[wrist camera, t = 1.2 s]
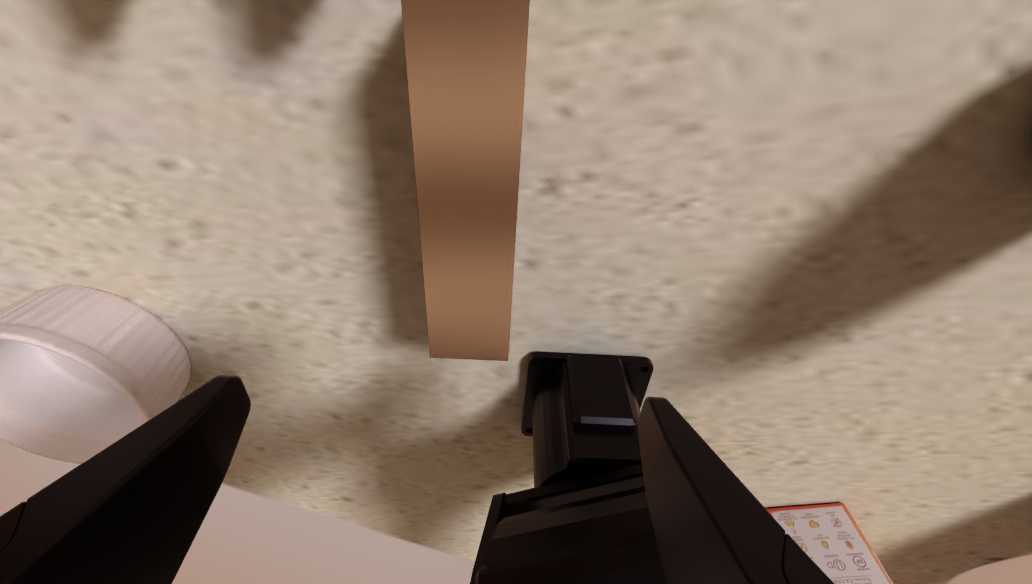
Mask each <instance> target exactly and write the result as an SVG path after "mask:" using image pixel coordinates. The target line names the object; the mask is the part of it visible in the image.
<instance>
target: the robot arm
mask: <svg viewBox="0 0 1032 584" xmlns="http://www.w3.org/2000/svg"><path fill="white" fill-rule="evenodd" d="M535 361H541V362H535ZM642 366H644V367H642ZM652 372H653V365H652V362H651V360H650V359H649V358H646V357H633V356H613V355H593V354H573V353H554V352H534V353H532V354H531V355H530V356H529V359H528V369H527V378H526V387H525V396H524V406H523V415H522V424H521V431H522V433H523V434H524V435H526V436H533V456H534V488H531V489H527V490H523V491H519V492H514V493H510V494H506V493H501V494H497V495H493V498H492V502H491V505H490V509H489V513H488V516H487V520H486V524H485V527H484V531H483V535H482V539H481V542H480V546H479V550H478V553H477V557H476V561H475V564H474V568H473V572H472V577H471V582H470V584H835V583H834V582H833V581H832V580H831V579H830V578H829V577H828V576H827V575H826V574H825V573H824V572H823V571H822V570H821V569H820V568H819V567H818V566H817V565H816V563H815V562H814V561H813V560H812V559H811V558H810V557H809V556H808V555H807V554H806V553H805V552H804V551H803V550H802V548H801V547H800V546H799V545H798V544H797V543H796V542H795V541H794V540H793V538H792V537H791V536H790V535H789V534H785V530H784V529H783V528H782V526H781V525H780V524H779V523H778V522H777V521H776V520H775V519H774V518H773V516H772V515H771V514H770V513H769V512H768V511H767V510H766V509H765V508H764V507H763V505H762V504H761V503H760V502H759V501H758V500H757V499H756V498H755V497H754V495H753V494H752V493H751V492H750V491H749V490H748V489H747V488H746V487H745V485H744V484H743V483H742V482H741V481H740V480H739V479H738V478H737V477H736V475H735V474H734V473H733V472H732V471H731V470H730V469H729V468H728V467H727V466H726V464H725V463H724V462H723V461H722V460H721V459H720V458H719V457H718V456H717V454H716V453H715V452H714V451H713V450H712V449H711V448H710V447H709V446H708V444H707V443H706V442H705V441H704V440H703V439H702V438H701V437H700V436H699V434H698V433H697V432H696V431H695V430H694V429H693V428H692V427H691V426H690V425H689V423H688V422H687V421H686V420H685V419H684V418H683V417H682V416H681V415H680V413H679V412H678V411H677V410H676V409H675V408H674V407H673V406H672V405H671V403H670V402H669V401H668V400H667V399H665V398H662V397H647V398H646V399H645V401H644V404H643V407H642V410H641V413H640V407H641V404H642V401H643V398H644V395H645V392H646V389H647V386H648V384H649V381H650V378H651V375H652ZM250 407H251V403H250V399H249V396H248V394H247V391H246V389H245V387H244V384H243V382H242V380H241V378H239V377H238V376H228V375H220V376H217V377H215V378H213V379H212V380H210V381H209V382H207V383H205V384H204V385H202V386H201V387H199V388H198V389H196V390H195V391H193V392H192V393H190V394H188V395H187V396H185V397H184V398H182V399H181V400H179V401H178V402H176V403H175V404H173V405H172V406H170V407H168V408H167V409H165V410H164V411H162V412H161V413H159V414H158V415H156V416H155V417H153V418H151V419H150V420H148V421H147V422H145V423H144V424H142V425H141V426H139V427H138V428H136V429H135V430H133V431H131V432H130V433H128V434H127V435H125V436H124V437H122V438H121V439H119V440H118V441H116V442H115V443H113V444H111V445H110V446H108V447H107V448H105V449H104V450H102V451H101V452H99V453H98V454H96V455H94V456H93V457H91V458H90V459H88V460H87V461H85V462H84V463H82V464H81V465H79V466H78V467H76V468H74V469H73V470H71V471H70V472H68V473H67V474H65V475H64V476H62V477H61V478H59V479H58V480H56V481H54V482H53V483H51V484H50V485H48V486H47V487H45V488H44V489H42V490H40V491H39V492H37V493H36V494H34V495H33V496H31V497H30V498H28V500H27V502H22V503H20V504H19V505H17V506H16V507H14V508H13V509H11V510H10V511H8V512H7V513H5V514H3V515H2V516H0V584H172V582H173V580H174V578H175V576H176V574H177V572H178V570H179V568H180V566H181V564H182V562H183V560H184V558H185V556H186V554H187V552H188V550H189V548H190V546H191V544H192V542H193V540H194V538H195V536H196V534H197V532H198V530H199V528H200V526H201V524H202V522H203V520H204V518H205V516H206V514H207V512H208V510H209V508H210V506H211V504H212V502H213V500H214V498H215V496H216V494H217V492H218V490H219V488H220V486H221V484H222V482H223V480H224V477H225V475H226V473H227V470H228V468H229V465H230V463H231V460H232V457H233V455H234V452H235V449H236V447H237V444H238V441H239V439H240V436H241V433H242V431H243V428H244V425H245V422H246V420H247V417H248V414H249V412H250Z"/></svg>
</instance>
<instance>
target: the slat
mask: <svg viewBox="0 0 1032 584" xmlns="http://www.w3.org/2000/svg"><path fill="white" fill-rule="evenodd" d="M529 2H530V0H401V4H402V16H403V29H404V41H405V53H406V66H407V78H408V91H409V103H410V115H411V128H412V140H413V153H414V165H415V177H416V190H417V202H418V215H419V227H420V239H421V252H422V264H423V276H424V289H425V301H426V314H427V326H428V338H429V351H430V358H453V359H476V360H499V361H508V354H509V338H510V321H511V304H512V287H513V271H514V254H515V237H516V220H517V204H518V187H519V170H520V153H521V137H522V120H523V103H524V86H525V69H526V53H527V36H528V19H529Z"/></svg>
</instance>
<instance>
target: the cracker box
mask: <svg viewBox="0 0 1032 584" xmlns="http://www.w3.org/2000/svg"><path fill="white" fill-rule="evenodd" d="M766 510H767V511H768V512H769V513H770V514H771V515H772V516H773V518H774V519H775V520H776V521H777V522H778V523H779V524H780V525H781V526H782V528H783V529H784V530H785V534H789V535H790V536H791V537H792V538H793V540H794V541H795V542H796V543H797V544H798V545H799V546H800V547H801V548H802V550H803V551H804V552H805V553H806V554H807V555H808V556H809V557H810V558H811V559H812V560H813V561H814V562H815V563H816V565H817V566H818V567H819V568H820V569H821V570H822V571H823V572H824V573H825V574H826V575H827V576H828V577H829V578H830V579H831V580H832V581H833V582H834V583H835V584H893V582H892V581H891V579H890V577H889V576H888V574H887V573H886V571H885V569H884V568H883V566H882V564H881V563H880V561H879V559H878V558H877V556H876V555H875V553H874V552H873V550H872V548H871V547H870V545H869V544H868V542H867V540H866V539H865V537H864V535H863V533H862V532H861V530H860V529H859V527H858V525H857V524H856V522H855V521H854V519H853V517H852V515H851V514H850V513H849V511H848V509H847V508H846V506H845V505H844V504H843V503H831V504H820V505H807V506H795V507H782V508H770V509H766Z"/></svg>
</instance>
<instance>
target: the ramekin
mask: <svg viewBox="0 0 1032 584" xmlns="http://www.w3.org/2000/svg"><path fill="white" fill-rule="evenodd" d="M190 368H191V365H190V359H189V356H188V353H187V351H186V349H185V347H184V345H183V344H182V342H181V341H180V339H179V338H178V337H177V335H176V334H175V333H174V332H173V331H172V330H171V329H170V328H169V327H168V326H167V325H166V324H165V323H164V322H163V321H161V320H160V319H159V318H158V317H156V316H155V315H154V314H152V313H151V312H149V311H148V310H146V309H144V308H143V307H141V306H139V305H137V304H135V303H133V302H131V301H129V300H127V299H125V298H122V297H120V296H117V295H114V294H111V293H108V292H104V291H101V290H96V289H91V288H85V287H77V286H62V287H53V288H48V289H44V290H41V291H38V292H35V293H33V294H31V295H29V296H27V297H25V298H23V299H21V300H19V301H17V302H15V303H14V304H12V305H10V306H8V307H7V308H5V309H3V310H1V311H0V439H1V440H3V441H5V442H7V443H9V444H11V445H14V446H16V447H18V448H21V449H24V450H26V451H29V452H32V453H35V454H38V455H42V456H44V457H48V458H52V459H56V460H60V461H65V462H71V463H78V464H82V463H84V462H85V461H87V460H88V459H90V458H91V457H93V456H94V455H96V454H98V453H99V452H101V451H102V450H104V449H105V448H107V447H108V446H110V445H111V444H113V443H115V442H116V441H118V440H119V439H121V438H122V437H124V436H125V435H127V434H128V433H130V432H131V431H133V430H135V429H136V428H138V427H139V426H141V425H142V424H144V423H145V422H147V421H148V420H150V419H151V418H153V417H155V416H156V415H158V414H159V413H161V412H162V411H164V410H165V409H167V408H168V407H170V406H172V405H173V404H175V403H176V402H177V401H178V399H179V398H180V396H181V395H182V393H183V392H184V390H185V388H186V386H187V384H188V382H189V379H190Z"/></svg>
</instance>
